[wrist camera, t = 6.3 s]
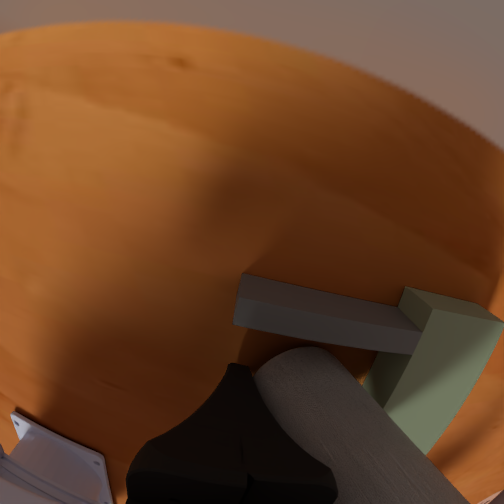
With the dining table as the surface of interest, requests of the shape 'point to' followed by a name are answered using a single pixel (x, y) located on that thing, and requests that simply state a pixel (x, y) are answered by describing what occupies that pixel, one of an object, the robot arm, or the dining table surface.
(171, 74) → the dining table surface
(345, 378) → the grey hollow tube
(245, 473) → the robot arm
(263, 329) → the mount
